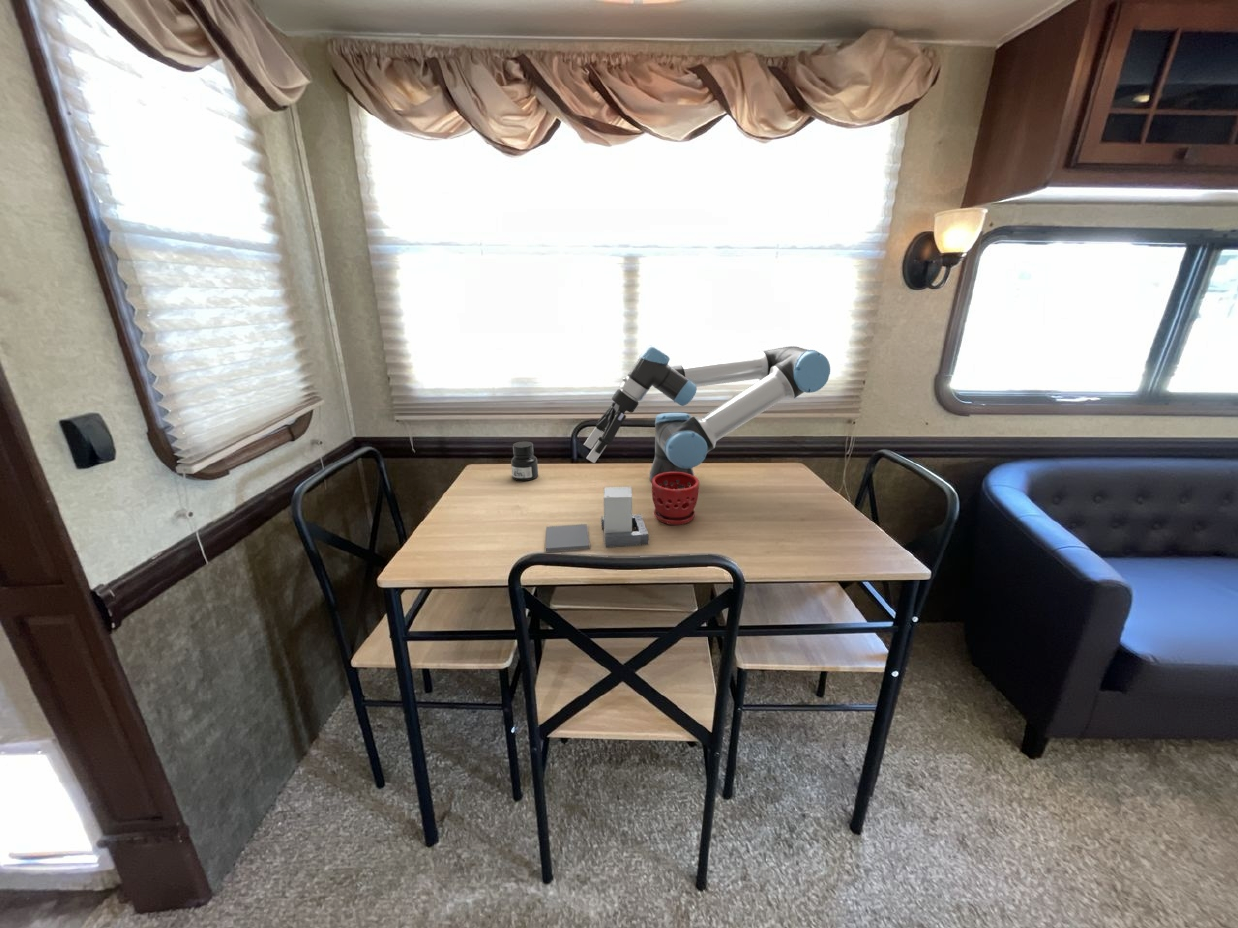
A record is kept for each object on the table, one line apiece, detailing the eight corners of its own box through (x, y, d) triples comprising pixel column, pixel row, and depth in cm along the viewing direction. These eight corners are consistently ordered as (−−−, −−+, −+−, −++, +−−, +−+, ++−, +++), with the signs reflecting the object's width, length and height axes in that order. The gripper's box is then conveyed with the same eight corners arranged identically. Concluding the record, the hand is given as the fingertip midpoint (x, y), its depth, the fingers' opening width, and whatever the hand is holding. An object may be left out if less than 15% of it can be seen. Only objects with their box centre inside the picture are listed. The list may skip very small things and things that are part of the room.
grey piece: (640, 523, 137) (640, 514, 136) (648, 544, 126) (648, 534, 125) (601, 526, 136) (601, 516, 135) (605, 547, 125) (605, 537, 124)
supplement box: (632, 542, 127) (632, 497, 123) (603, 542, 127) (602, 497, 123) (632, 529, 134) (631, 486, 130) (604, 529, 134) (603, 486, 130)
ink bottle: (506, 478, 171) (503, 445, 167) (522, 470, 178) (519, 439, 174) (528, 483, 167) (526, 449, 163) (544, 475, 174) (542, 442, 170)
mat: (586, 527, 135) (586, 524, 135) (589, 548, 124) (589, 545, 124) (546, 529, 134) (546, 526, 134) (545, 551, 123) (545, 548, 123)
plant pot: (643, 513, 143) (643, 475, 139) (682, 505, 148) (684, 468, 144) (664, 532, 132) (665, 491, 128) (706, 523, 137) (708, 483, 133)
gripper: (613, 380, 154) (576, 435, 158) (624, 396, 131) (580, 460, 135) (633, 393, 156) (595, 447, 161) (647, 411, 133) (602, 474, 137)
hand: (588, 453), depth 148 cm, fingers open, 13 cm apart
